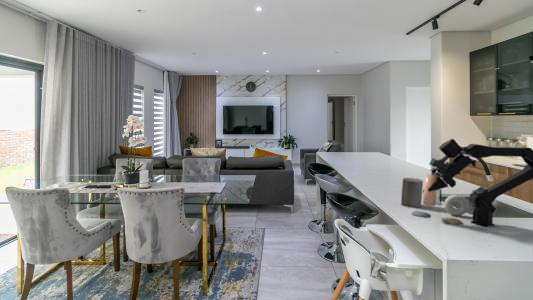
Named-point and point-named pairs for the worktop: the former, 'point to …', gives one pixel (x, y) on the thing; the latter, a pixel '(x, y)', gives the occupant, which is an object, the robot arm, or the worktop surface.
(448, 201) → the donut
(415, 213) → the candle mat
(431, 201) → the post
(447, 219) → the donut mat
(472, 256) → the worktop surface
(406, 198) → the pillar candle
